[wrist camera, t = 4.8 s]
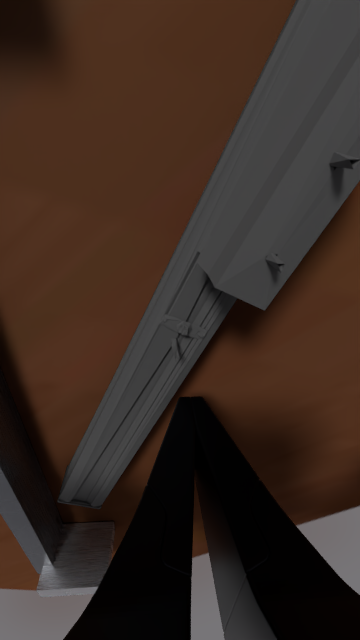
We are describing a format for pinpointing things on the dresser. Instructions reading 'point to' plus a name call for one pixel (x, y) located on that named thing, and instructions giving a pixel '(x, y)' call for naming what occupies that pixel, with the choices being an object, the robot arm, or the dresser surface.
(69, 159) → the dresser surface
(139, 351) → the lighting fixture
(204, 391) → the dresser surface
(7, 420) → the end cap rail
